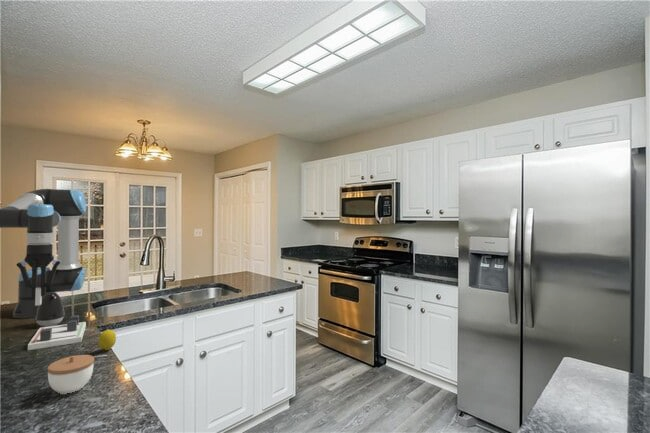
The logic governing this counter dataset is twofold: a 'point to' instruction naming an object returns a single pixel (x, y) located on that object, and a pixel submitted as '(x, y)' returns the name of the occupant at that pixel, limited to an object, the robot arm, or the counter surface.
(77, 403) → the counter surface
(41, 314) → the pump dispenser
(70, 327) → the block
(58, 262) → the robot arm
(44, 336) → the switch
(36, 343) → the breaker panel
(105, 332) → the lemon
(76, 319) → the block
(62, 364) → the lidded jar
